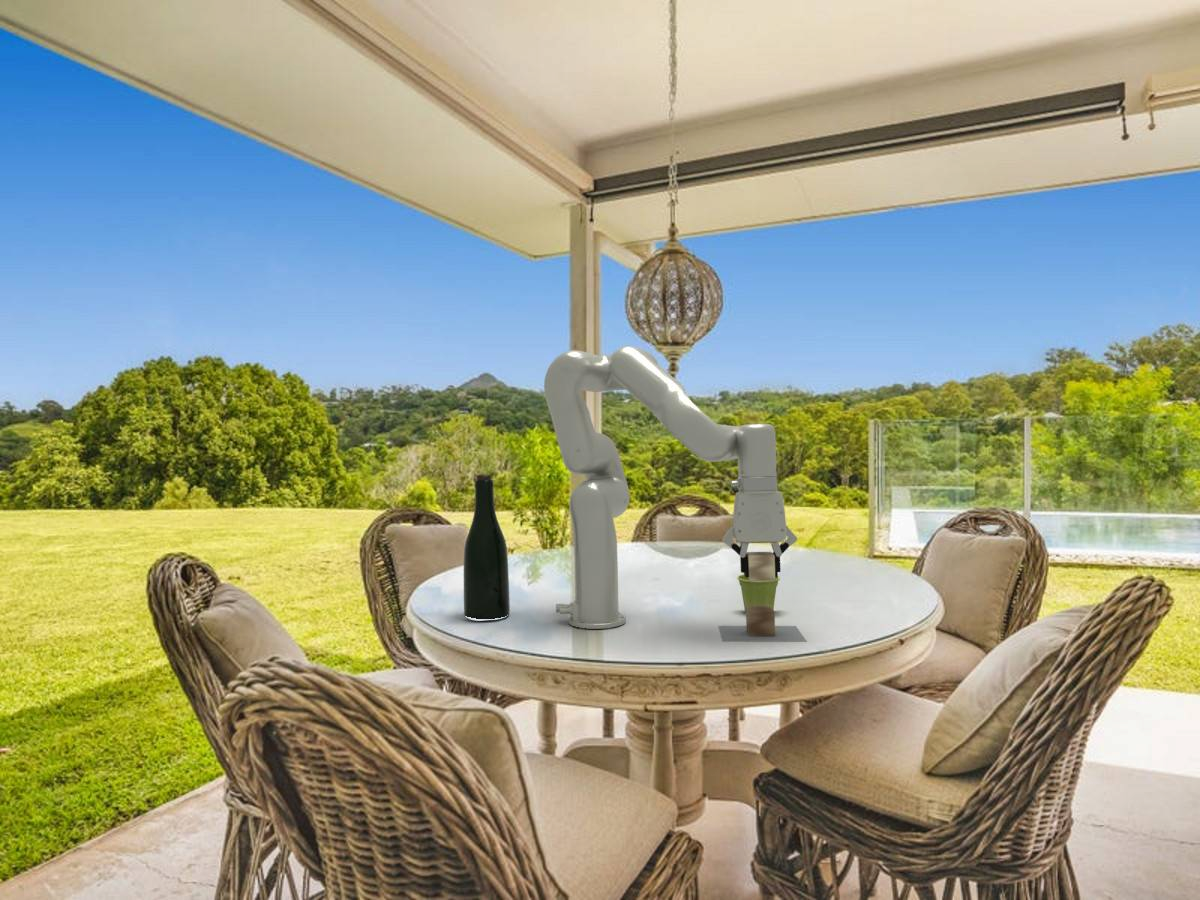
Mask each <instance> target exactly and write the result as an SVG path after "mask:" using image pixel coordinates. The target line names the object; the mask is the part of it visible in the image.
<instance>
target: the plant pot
mask: <svg viewBox="0 0 1200 900" xmlns="http://www.w3.org/2000/svg"><path fill="white" fill-rule="evenodd" d="M736 578H737V580H738V582H739V586H740V588H741V595H742V602H743V607H744V609H743V610H744V613H745V614H746V606H771V607H772V608H773V610H774V611H775V602H776V601H775V599H776V595H777V594H776V593H777V587H778V585H779V581H780V580H781V578H780V576H779V575H778V577H775V581H749V579H748V578H745V576H744V573H742V574H740V575H737V576H736Z"/></svg>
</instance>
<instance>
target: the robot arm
mask: <svg viewBox="0 0 1200 900" xmlns="http://www.w3.org/2000/svg"><path fill="white" fill-rule="evenodd" d="M543 384H544V385H543V390H544V396H545V401H546V403H547V404H546V405H547V408H548V410H549V414H550V418H551V421H552V424H553V429H554V433H555V438H556V440H557V444H558V447H559V450H560V455H561V459H562V462H563V464H564V466H565V468H566V469H567V470H568V471H569V472H570V473H572V474H575V475H584V477H585V480H583V481H582V482H580V483H579V484H577V485H576V486H575V487H574V489H573V490H572V492H571V495H570V497H569V504H568V505H569V514H570V519H571V526H572V532H573V535H572V536H573V552H574V555H573V556H574V557H573V558H574V591H575V592H574V593H575V595H574V596H575V600H574V601H573V602H570V603H569V604H566V603H565V604H564V603H555V613H559V615H567V614H568V615H569V614H570V615H569V617H568V624H569V625H570V626H572V627H574V626H575V628H578V627H579V629H585V628H586V630H602V629H611V628H616V627H620V626H623V625H624V624H625V623H626V621H627V619H626V615H625V614H623V613H621V612H620V611H619V610H620V609H619V576H618V575H619V572H618V571H619V570H618V569H619V568H618V563H619V561H618V541H617V538H618V537H617V532H616V527H615V526H616V525H615V522H614V518H617V517H620V516H621V515H623V514H624V513H625V512H626V510H627V509H628V507H629V504H630V499H631V498H630V489H629V486H628V482H627V478H626V475H625V472H624V467H623V465H622V461H621V458H620V454H619V450H618V449H617V447H616V444H615V443H614V441H613V440H612V439H611V438H610V436H608V435H606V434H604V433H600V432H596V430H595V428H594V424H593V420H592V418H591V413H590V410H589V407H588V406H587V403H586V402H585V400H584V398H583V394H582V391H586V392H591V393H592V392H595V393H599V392H612V391H623V390H624V391H625V390H626V391H627V392H628V393H629V394H630V395H631V396H633V397H634V398H635V399H636V400H637V401H638V402H640V403H641V404H642V405H643V406H644V407H646V409H647V410H648V411H650V412H651V413H652V414H653V415H654V416H655V417H656V418H657V420H658V421H659V422H660V423H661V424H662V425H663V426H664V428H666V429H667V430H668V432H669V433H670V434H672V436H673V437H674V438H675V439H676V440H678V441H679V442H680V443H681V444H682V445H684V446H685V448H687V449H688V450H689V451H690V452H692V453H693V454H694V455H695V456H697V457H698V458H699V459H701V460H703V461H705V462H710V463H713V462H725V461H731V460H736V459H737V470H738V471H737V473H738V477H737V478H736V479H735V480H730V481H731V482H730V484H731V487H732V488H737V490H738V491H737V492H735V495H734V502H733V503H734V505H733V515H732V517H733V518H732V521H733V522H732V523H733V524H732V526H731V527H730V528H729V529H728V530H727V532H726V533H725V534H724V536H723V538H722V539H721V540H722V542H723V543H724V544H725V545H727V546H728V547H729V548H731V549H732V550H733V551H734V552H735V553H736V554H737V555H738V556H740V557H739V560H740V572H741V573H742V574H744V576H745V578H747V577H749V566H748V557H747V554H746V553H747V552H748V549H749V544H770V545H771V548H772V550H773V551H772V553H773V554H774V555H775V577H778V576H779V574H778V573H781V557H782V555H783V554H784V553H785V552H786V551H787V550H788V549H789V548H790V546H792V545H793V544H795V542H797V541H798V537H797V536H796V535H795V534H794V532H793V531H792V530H791V529H790V528H789V527H788V526H787V520H786V511H785V510H786V509H785V503H784V497H783V493H782V492H781V491H778V479H777V477H778V476H777V475H778V473H777V447H776V445H777V444H776V430H775V427H774V426H773V425H772V424H769V423H752V424H749V423H748V424H747V423H746V424H743V425H740V426H739V425H738V426H737V425H736V426H735V425H727V424H720V423H719V424H718V423H716V422H715V421H714V420H713V419H712V418H710V417H709V416H708V415H707V414H705V413H704V412H703V411H702V410H701V409H700V408H699V407H697V405H696V404H694V403H693V401H692V400H690V398H689V396H688V395H687V392H686V388H685V387H684V385H682V384H683V383H681V382H679V381H678V379H676V378H675V377H674V376H672V375H671V374H670V373H669V372H667V370H665V369H664V368H662V367H661V366H660V364H659V363H658V360H657V358H656V357H655V355H653V354H652V352H651V353H650V352H649V351H648V350H645V349H642V348H639V347H637V346H633V345H625V346H621V347H619V348H617V349H616V350H614V352H612V353H611V354H604V355H603V354H601V355H600V354H593V353H590V352H586V351H583V350H576V349H575V350H568V351H564V352H562V353H560V354H558V356H556V357H555V358H554V359H553V361H551V363H550V365H549V367H548V368H547V371H546V372H545V376H544V383H543ZM732 539H735V540H736V541H737V542H738V543H740V544H739V545H738V544H737V543H736V542H734V541H733V540H732ZM780 543H781V544H780Z"/></svg>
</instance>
